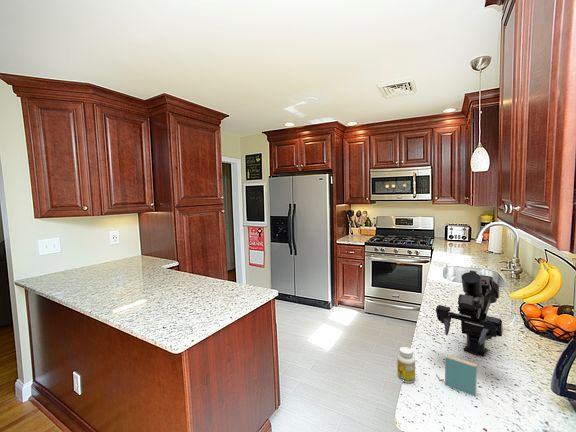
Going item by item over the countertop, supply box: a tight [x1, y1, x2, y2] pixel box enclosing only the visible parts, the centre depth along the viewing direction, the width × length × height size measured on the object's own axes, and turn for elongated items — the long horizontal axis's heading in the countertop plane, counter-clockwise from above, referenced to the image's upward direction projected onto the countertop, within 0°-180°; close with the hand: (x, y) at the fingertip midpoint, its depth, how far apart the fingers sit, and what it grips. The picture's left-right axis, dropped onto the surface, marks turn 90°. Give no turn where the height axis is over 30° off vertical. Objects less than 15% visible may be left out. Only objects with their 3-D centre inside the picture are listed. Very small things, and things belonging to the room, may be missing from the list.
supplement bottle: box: [396, 346, 416, 384], centre depth 92 cm, size 5×5×10 cm
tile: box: [444, 354, 478, 397], centre depth 86 cm, size 2×8×9 cm, turn 48°
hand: (462, 339), depth 90 cm, fingers open, 9 cm apart
